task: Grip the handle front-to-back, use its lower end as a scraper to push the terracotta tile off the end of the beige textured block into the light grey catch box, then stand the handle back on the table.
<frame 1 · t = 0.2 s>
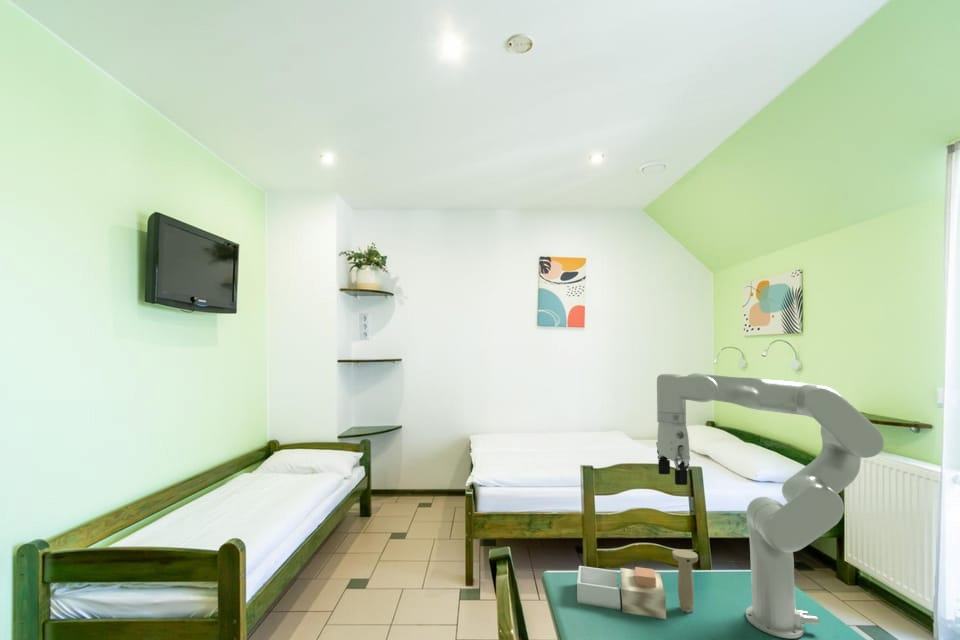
hand: (672, 479, 122), 35 cm above the table, tool pointing down, fingers open, 9 cm apart
beige textured block: (642, 603, 122), on the table
handle: (686, 610, 119), on the table
catch box: (598, 596, 125), on the table
tile: (645, 581, 122), point 6 cm above the table, touching beige textured block
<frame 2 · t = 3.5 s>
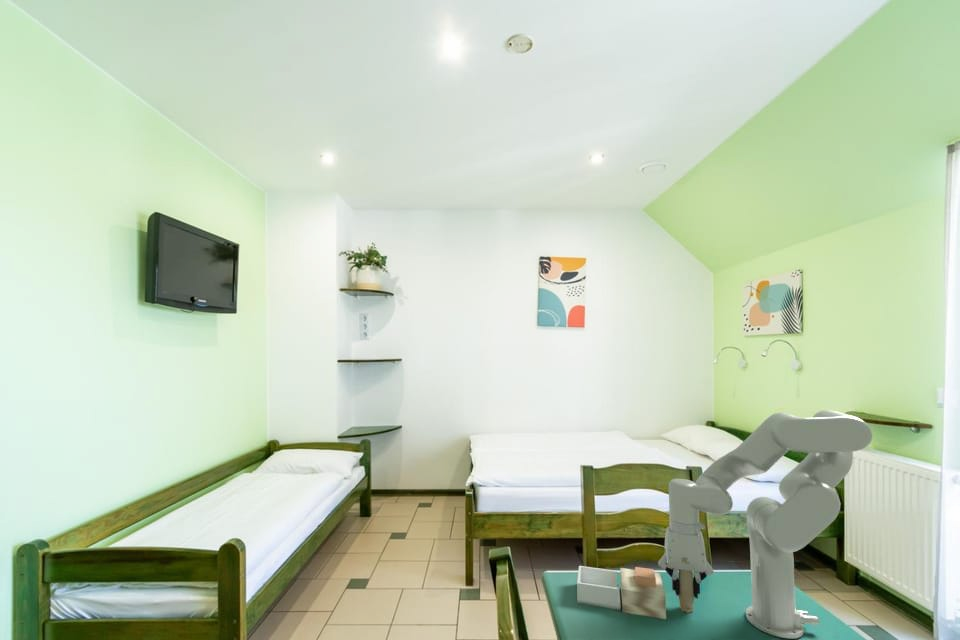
hand: (686, 593, 119), 4 cm above the table, tool pointing down, fingers closed on handle, 4 cm apart
handle: (686, 610, 119), on the table, touching gripper
everything else where it was.
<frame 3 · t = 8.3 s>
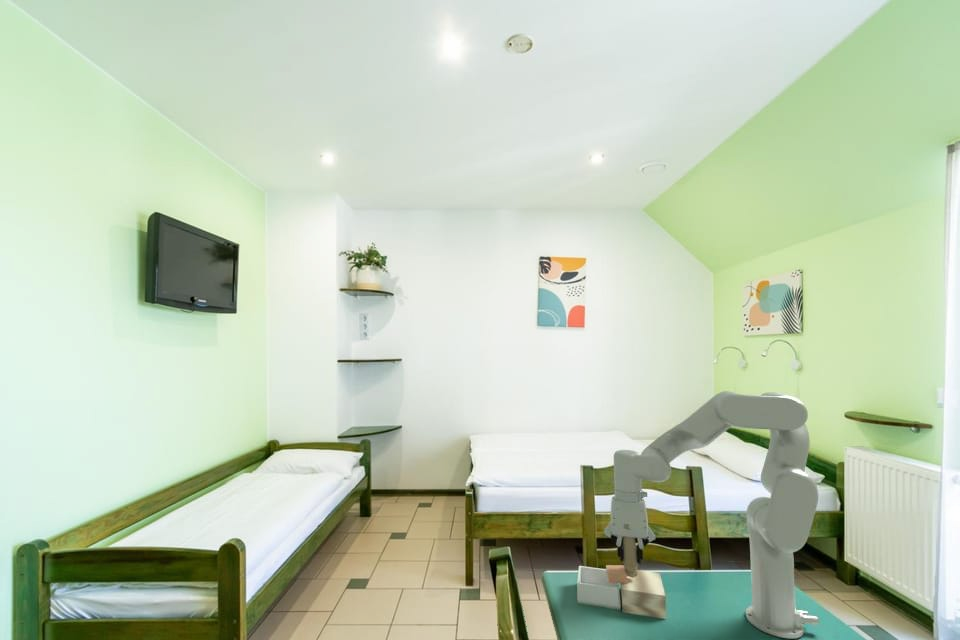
hand: (630, 559, 123), 11 cm above the table, tool pointing down, fingers closed on handle, 4 cm apart
handle: (631, 576, 123), point 7 cm above the table, touching gripper, tile
tile: (616, 578, 123), point 6 cm above the table, touching beige textured block, handle
when the fingers open (5 cm above the table, at t = 16.7 s): handle drops 1 cm, on the table.
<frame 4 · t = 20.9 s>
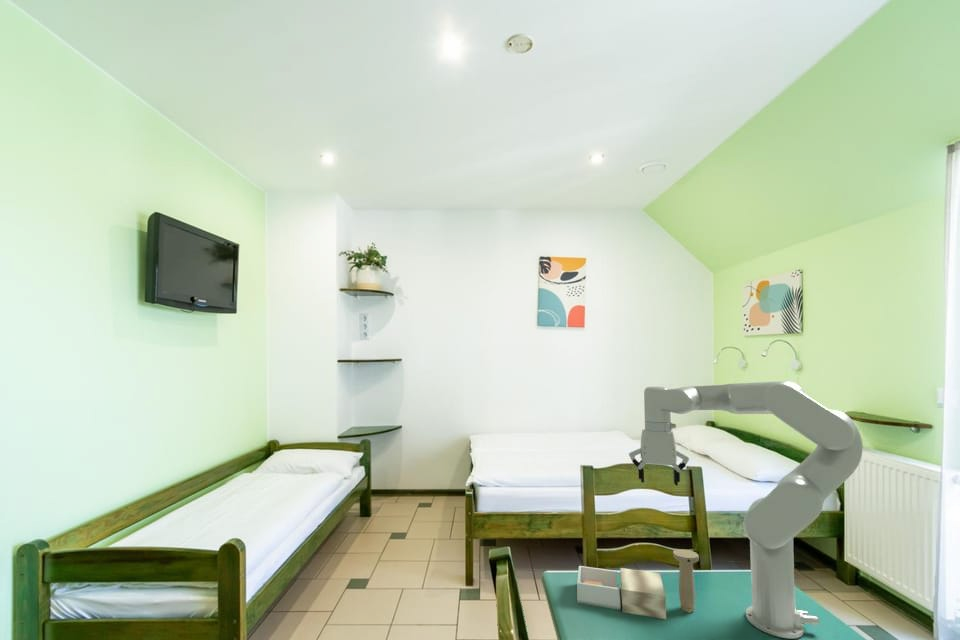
hand: (658, 482, 133), 30 cm above the table, tool pointing down, fingers open, 9 cm apart
handle: (687, 610, 118), on the table
tile: (593, 585, 125), point 3 cm above the table, tilted 180°, touching catch box
at the end: tile inside the target area on the catch box (1.7 cm from its centre), point 3.1 cm above the catch box's base; handle tilted 0°; the gripper is holding nothing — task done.
